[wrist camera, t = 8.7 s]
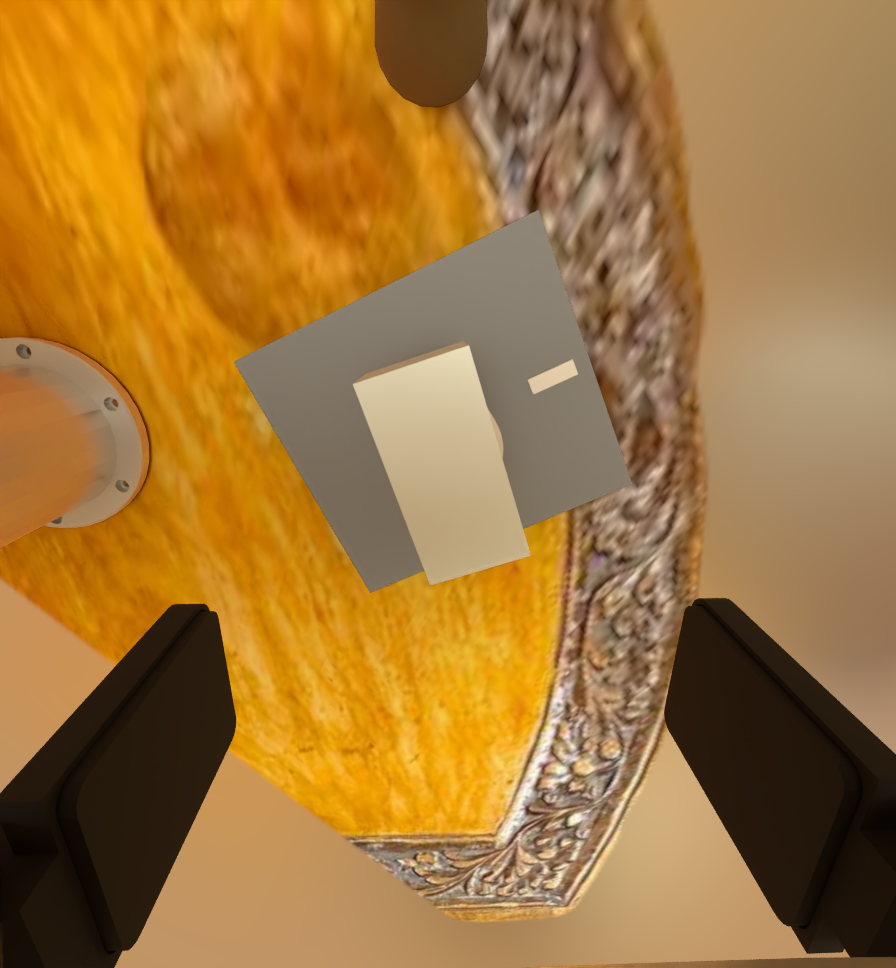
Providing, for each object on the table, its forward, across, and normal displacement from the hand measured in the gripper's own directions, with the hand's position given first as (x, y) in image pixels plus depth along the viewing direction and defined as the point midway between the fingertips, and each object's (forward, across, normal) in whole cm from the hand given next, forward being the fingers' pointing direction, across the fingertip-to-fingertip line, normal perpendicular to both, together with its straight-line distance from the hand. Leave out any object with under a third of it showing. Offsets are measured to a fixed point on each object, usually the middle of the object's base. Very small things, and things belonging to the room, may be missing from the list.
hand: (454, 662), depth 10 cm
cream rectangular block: (+19, 0, 0) cm, 19 cm away
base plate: (+24, 0, 0) cm, 24 cm away
